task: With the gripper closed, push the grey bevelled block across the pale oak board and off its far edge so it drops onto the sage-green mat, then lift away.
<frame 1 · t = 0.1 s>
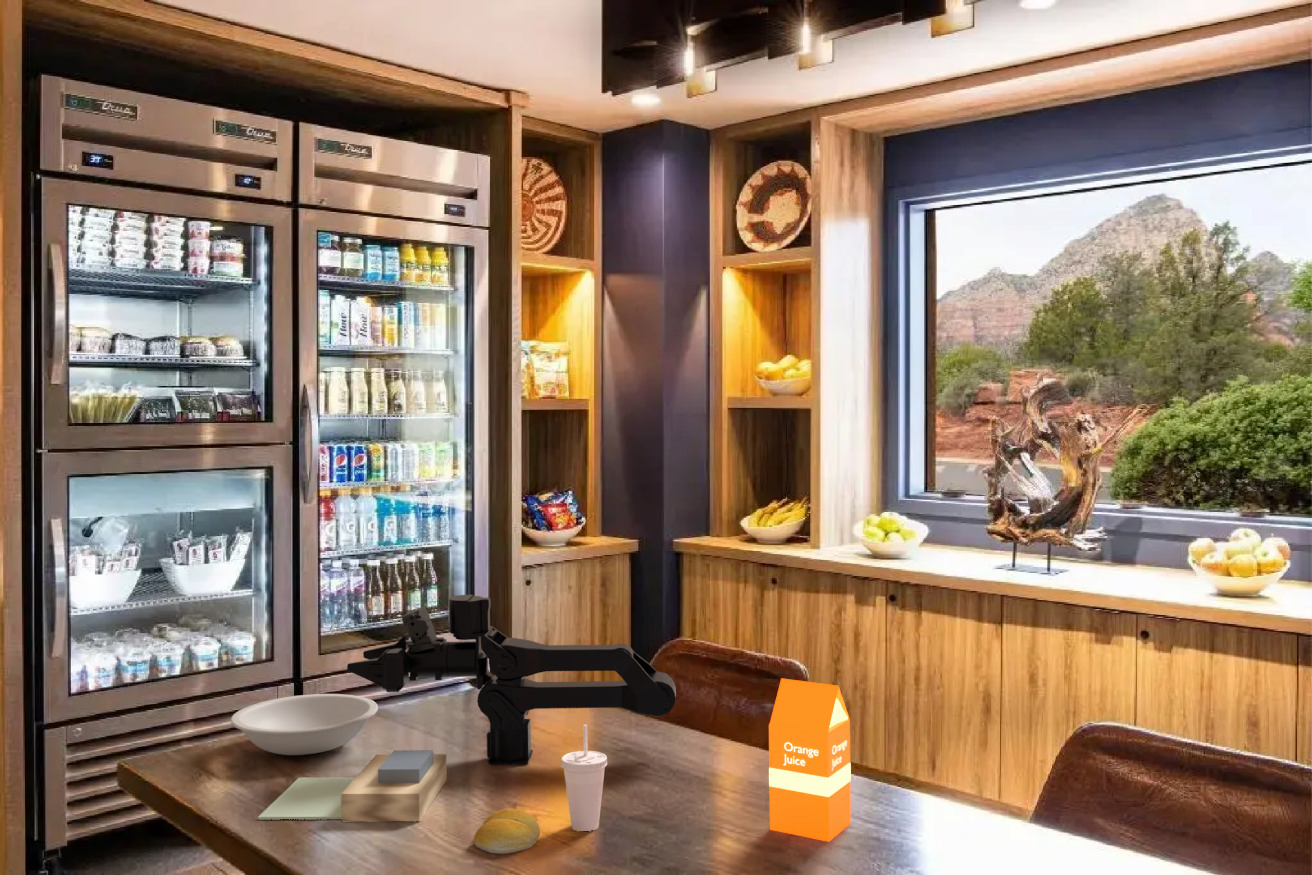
hand: (355, 660, 189), 17 cm above the table, tool horizontal, fingers open, 9 cm apart
orange juice: (810, 827, 157), on the table
grey bevelled block: (406, 772, 170), point 4 cm above the table, touching wooden block
smoothie: (585, 828, 158), on the table
wooden block: (397, 799, 170), on the table
mat: (319, 798, 171), on the table
bread roll: (507, 844, 153), on the table
soup bowl: (306, 750, 196), on the table
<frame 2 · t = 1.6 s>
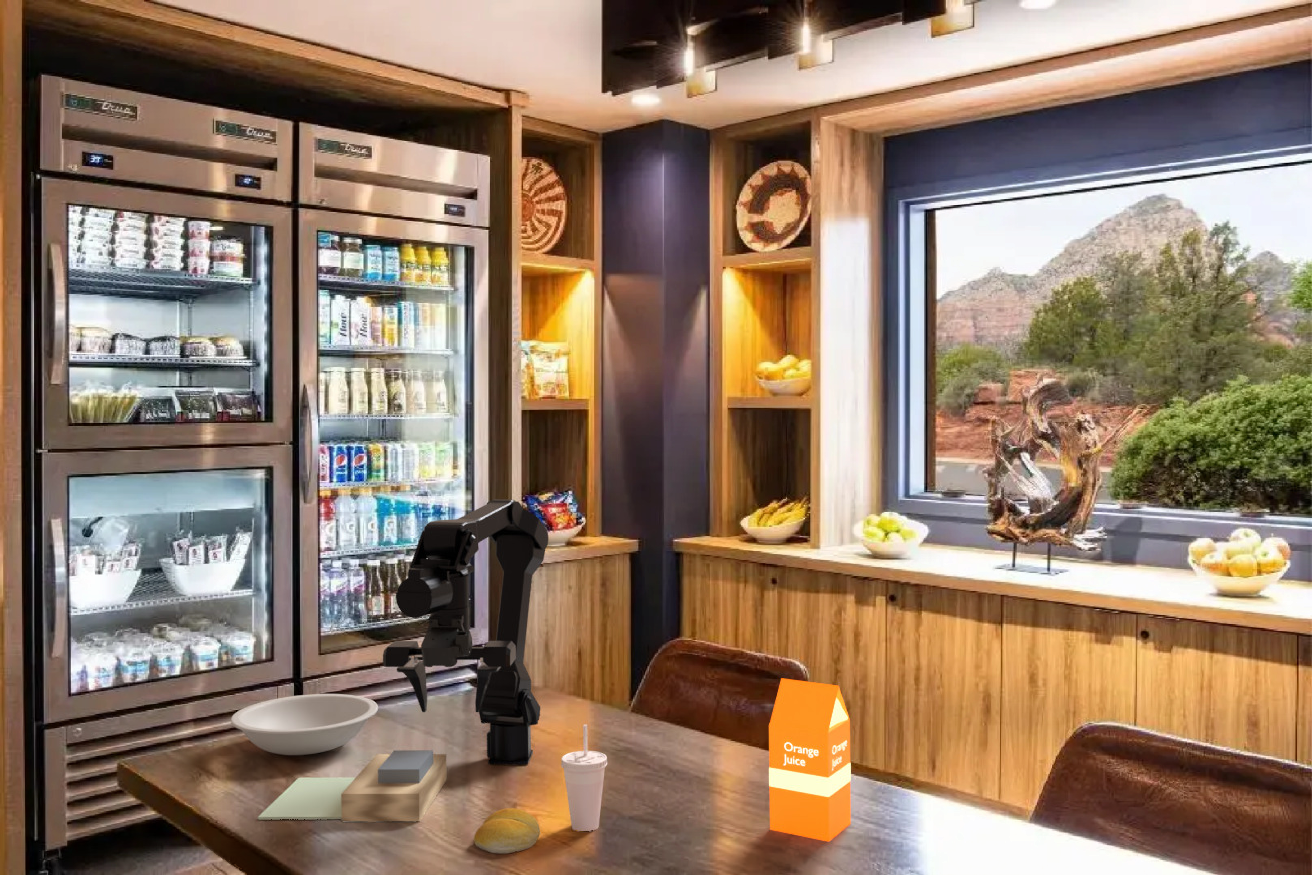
hand: (451, 711, 169), 13 cm above the table, tool pointing down, fingers open, 8 cm apart
nothing on the table moved.
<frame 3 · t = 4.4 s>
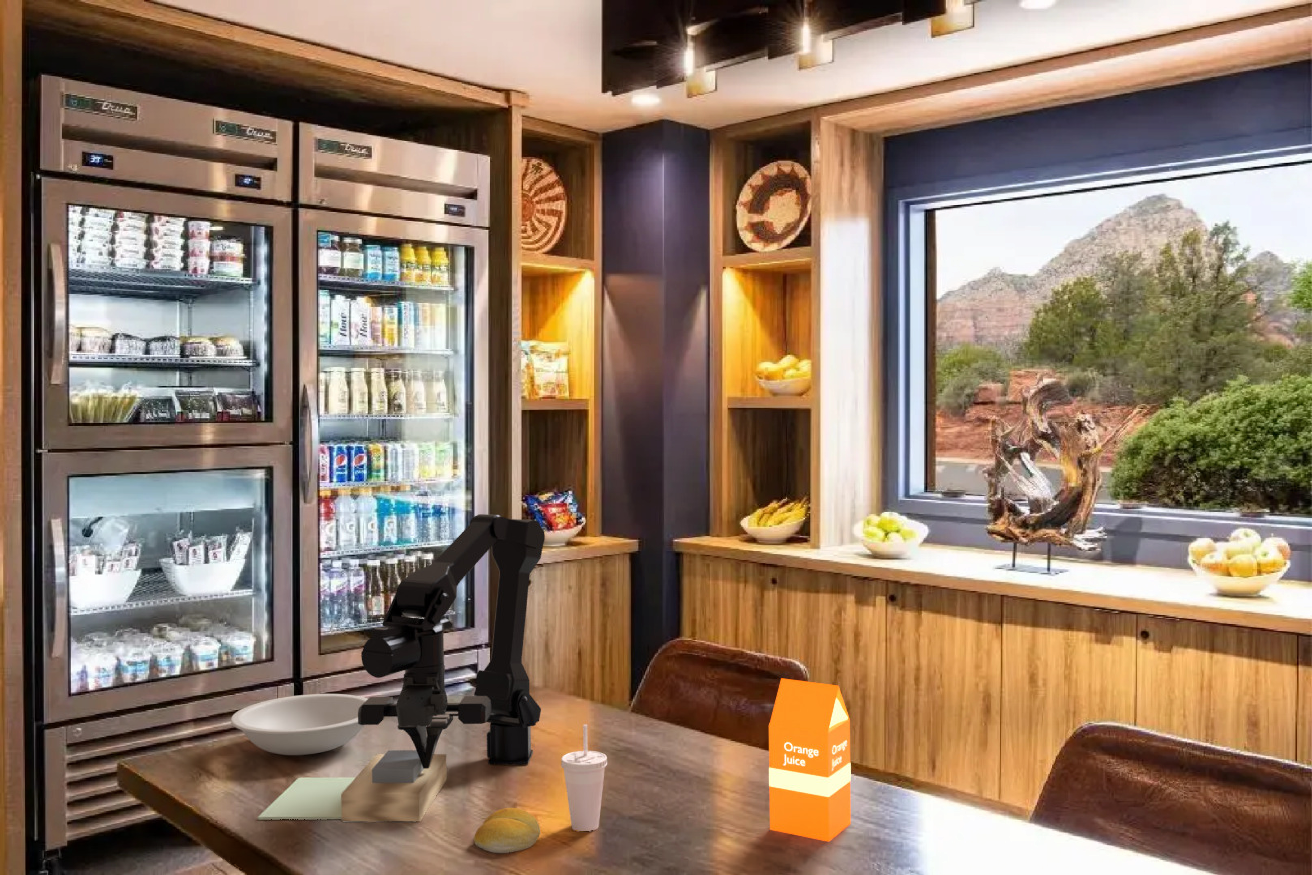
hand: (426, 767, 170), 5 cm above the table, tool pointing down, fingers closed
grey bevelled block: (400, 772, 170), point 4 cm above the table, touching wooden block, gripper
everything else where it was.
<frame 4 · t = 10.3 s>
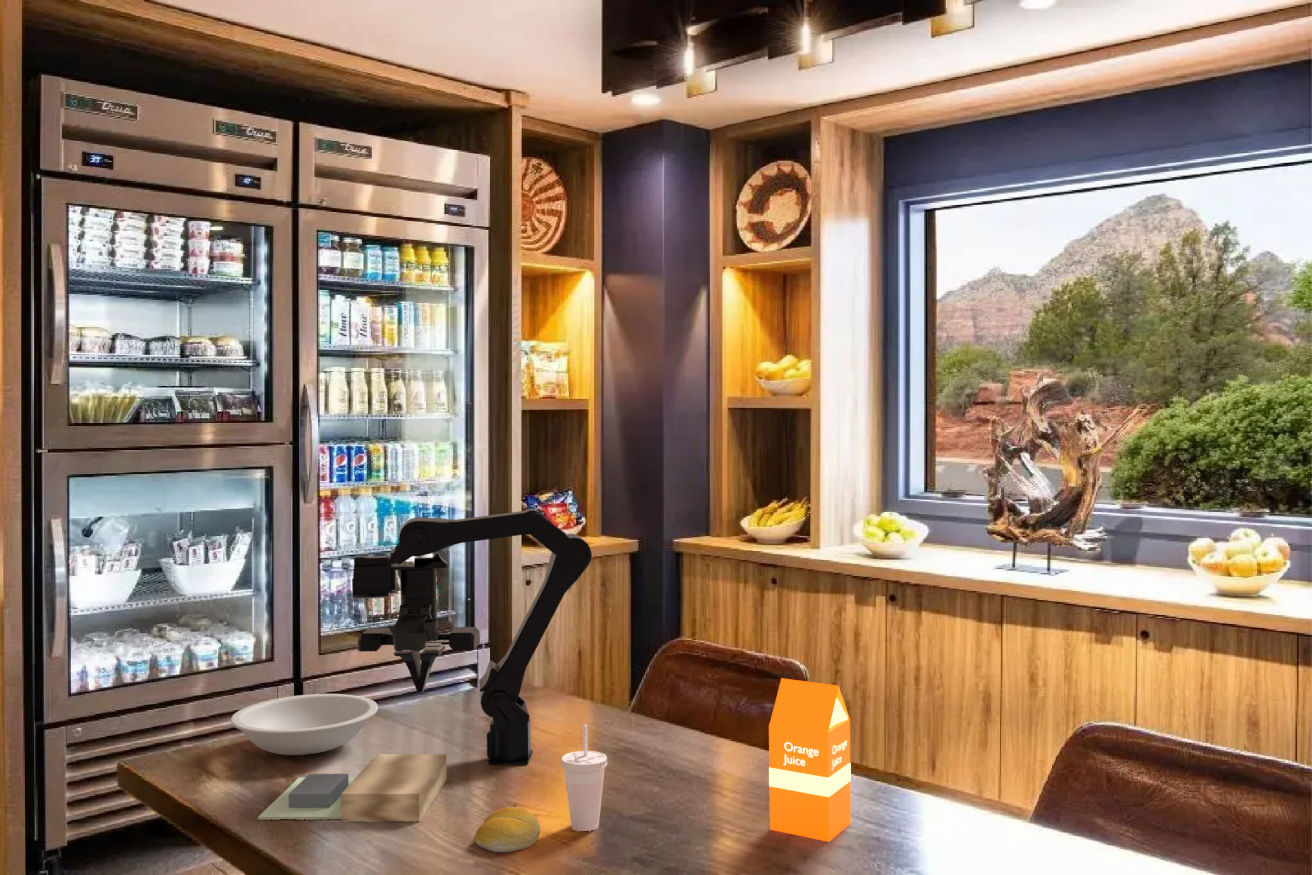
hand: (420, 692, 185), 12 cm above the table, tool pointing down, fingers closed
grey bevelled block: (319, 783, 170), point 2 cm above the table, tilted 180°, touching mat
everything else where it was.
at the end: grey bevelled block inside the target area (0.6 cm from its centre), point 2.4 cm above the table; grey bevelled block point 2.4 cm above the table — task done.
